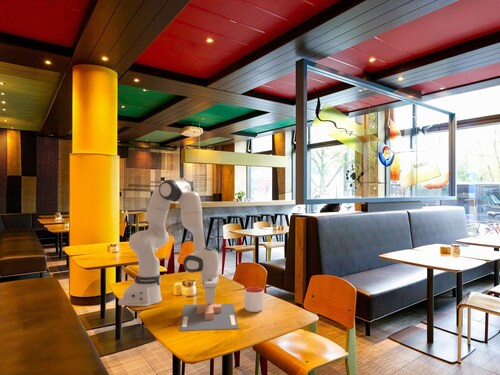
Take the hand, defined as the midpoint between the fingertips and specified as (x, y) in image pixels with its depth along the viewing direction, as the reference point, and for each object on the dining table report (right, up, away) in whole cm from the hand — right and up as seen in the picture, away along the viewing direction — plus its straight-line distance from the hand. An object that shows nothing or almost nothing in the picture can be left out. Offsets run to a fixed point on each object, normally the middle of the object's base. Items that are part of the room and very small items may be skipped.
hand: (209, 306), depth 164 cm
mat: (+1, -2, -8) cm, 9 cm away
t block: (+1, -1, -7) cm, 8 cm away
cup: (+23, -2, +2) cm, 23 cm away
